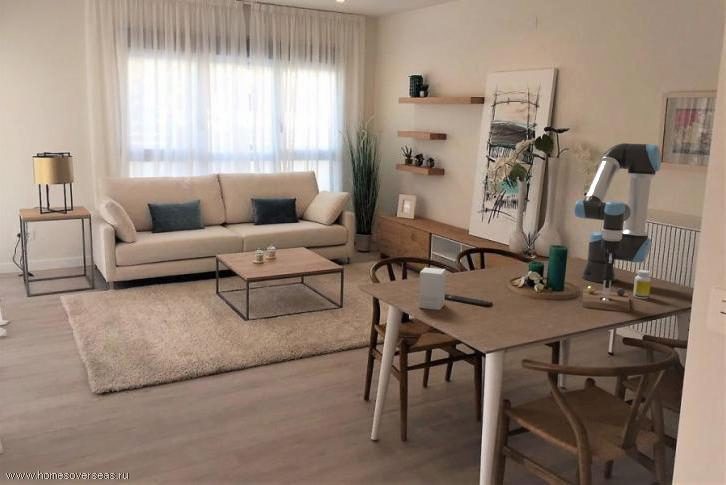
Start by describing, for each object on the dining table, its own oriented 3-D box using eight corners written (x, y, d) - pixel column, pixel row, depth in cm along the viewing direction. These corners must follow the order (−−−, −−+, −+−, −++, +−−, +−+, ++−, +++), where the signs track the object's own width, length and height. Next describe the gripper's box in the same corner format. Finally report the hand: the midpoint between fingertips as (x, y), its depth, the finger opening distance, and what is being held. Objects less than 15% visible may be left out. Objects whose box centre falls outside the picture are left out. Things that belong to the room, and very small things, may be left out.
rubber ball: (616, 293, 273) (616, 286, 273) (624, 294, 272) (625, 287, 272) (616, 295, 270) (617, 288, 270) (624, 296, 269) (625, 289, 269)
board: (582, 293, 281) (583, 288, 281) (626, 298, 276) (627, 292, 275) (582, 306, 263) (582, 300, 262) (629, 311, 257) (630, 305, 257)
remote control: (440, 296, 276) (440, 292, 276) (493, 305, 264) (493, 302, 263) (435, 298, 271) (435, 295, 271) (489, 308, 259) (489, 305, 259)
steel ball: (601, 299, 267) (601, 296, 265) (609, 300, 266) (610, 296, 264) (600, 306, 266) (601, 302, 263) (609, 307, 265) (609, 303, 262)
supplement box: (445, 304, 262) (446, 268, 259) (440, 310, 254) (441, 274, 251) (423, 301, 265) (424, 266, 262) (418, 307, 257) (419, 271, 254)
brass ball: (586, 292, 275) (587, 284, 275) (594, 292, 274) (595, 285, 274) (586, 293, 272) (587, 286, 272) (594, 294, 271) (595, 287, 271)
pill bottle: (650, 299, 275) (653, 273, 272) (634, 298, 276) (637, 272, 273) (647, 295, 281) (650, 269, 278) (631, 294, 282) (634, 268, 280)
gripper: (601, 235, 269) (596, 289, 274) (602, 241, 257) (596, 297, 262) (620, 237, 267) (615, 291, 272) (622, 243, 255) (616, 299, 260)
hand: (606, 294), depth 267 cm, fingers closed
